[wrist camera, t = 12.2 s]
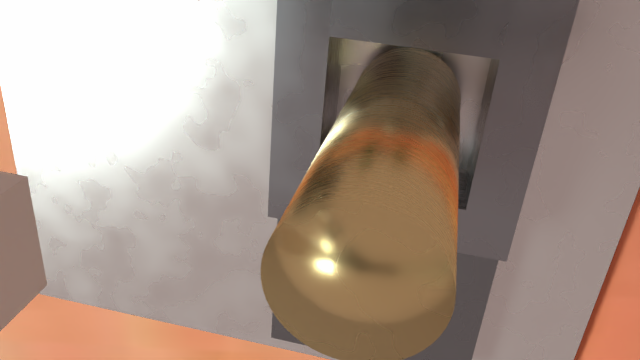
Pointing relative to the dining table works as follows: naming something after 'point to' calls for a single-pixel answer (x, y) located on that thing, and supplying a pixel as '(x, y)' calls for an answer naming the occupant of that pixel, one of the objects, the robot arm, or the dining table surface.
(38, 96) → the square hole fixture plate
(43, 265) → the robot arm
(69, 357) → the dining table surface
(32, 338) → the dining table surface
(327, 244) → the brass pin
